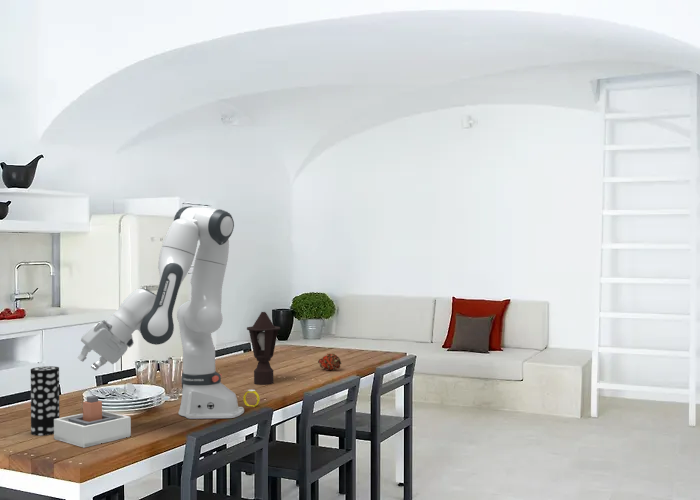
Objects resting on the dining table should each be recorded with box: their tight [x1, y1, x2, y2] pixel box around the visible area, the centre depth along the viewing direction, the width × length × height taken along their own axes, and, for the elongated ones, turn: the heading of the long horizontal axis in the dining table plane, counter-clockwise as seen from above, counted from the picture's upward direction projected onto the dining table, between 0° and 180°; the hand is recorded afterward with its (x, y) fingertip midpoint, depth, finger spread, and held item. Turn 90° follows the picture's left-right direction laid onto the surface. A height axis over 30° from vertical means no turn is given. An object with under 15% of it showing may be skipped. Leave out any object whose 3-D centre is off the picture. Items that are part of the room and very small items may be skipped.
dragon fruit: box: [317, 352, 342, 372], centre depth 351 cm, size 8×8×12 cm
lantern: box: [246, 311, 281, 386], centre depth 319 cm, size 15×15×30 cm
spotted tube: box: [30, 365, 60, 436], centre depth 237 cm, size 8×8×20 cm
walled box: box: [53, 409, 132, 449], centre depth 231 cm, size 16×16×6 cm
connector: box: [82, 395, 103, 422], centre depth 231 cm, size 4×4×12 cm
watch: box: [242, 389, 261, 408], centre depth 274 cm, size 6×3×6 cm, turn 70°
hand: (86, 364), depth 238 cm, fingers open, 8 cm apart
